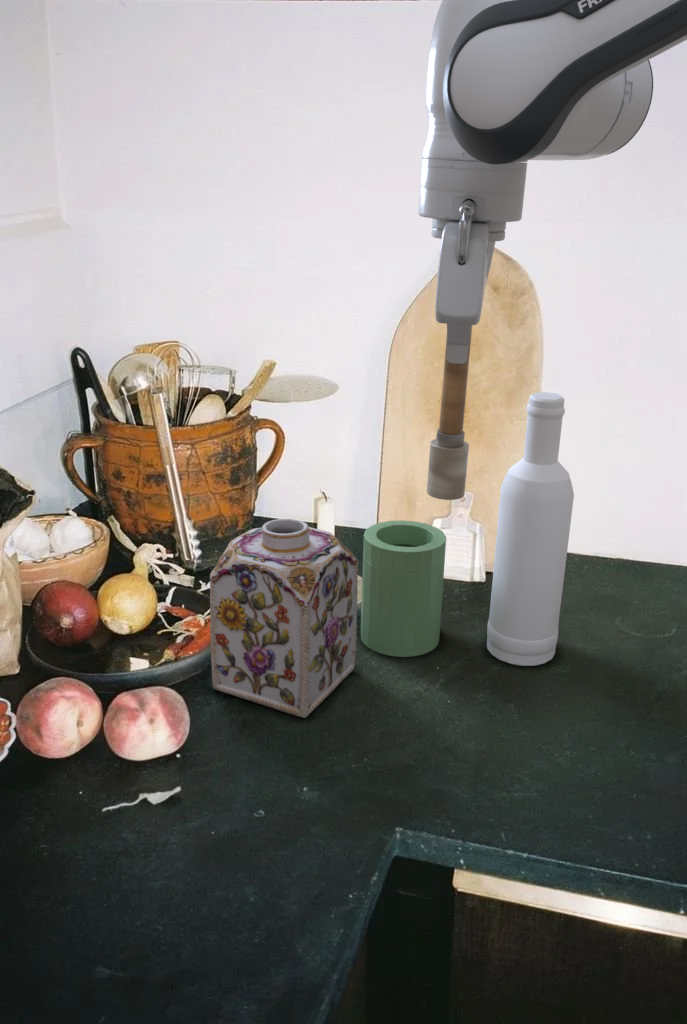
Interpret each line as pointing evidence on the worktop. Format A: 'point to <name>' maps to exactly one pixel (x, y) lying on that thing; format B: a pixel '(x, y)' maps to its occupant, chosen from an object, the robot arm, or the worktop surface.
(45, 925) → the worktop surface
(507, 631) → the bottle
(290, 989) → the worktop surface
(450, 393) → the brush
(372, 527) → the green pen holder
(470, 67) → the robot arm
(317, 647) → the decorative jar
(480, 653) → the worktop surface
